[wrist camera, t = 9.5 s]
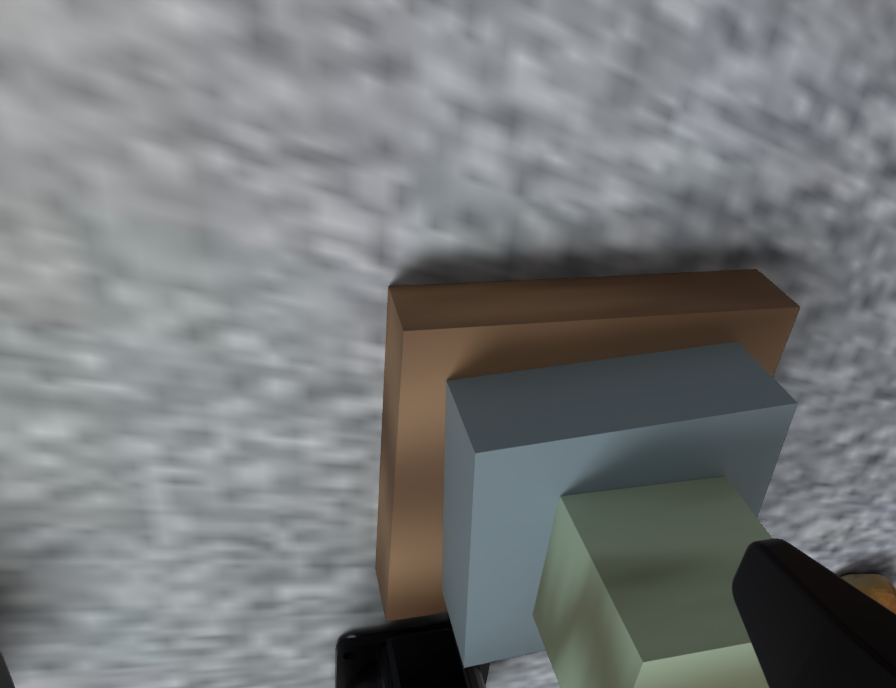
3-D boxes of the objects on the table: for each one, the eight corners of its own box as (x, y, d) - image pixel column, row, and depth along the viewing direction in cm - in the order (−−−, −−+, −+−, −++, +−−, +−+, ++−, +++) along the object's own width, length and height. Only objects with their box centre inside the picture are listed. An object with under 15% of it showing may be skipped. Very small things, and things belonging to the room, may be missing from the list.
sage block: (680, 591, 24) (770, 744, 20) (532, 615, 23) (597, 782, 19) (724, 475, 22) (839, 626, 18) (560, 496, 20) (643, 662, 16)
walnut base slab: (659, 517, 32) (695, 574, 30) (372, 554, 29) (386, 621, 27) (745, 259, 25) (800, 307, 23) (384, 275, 22) (403, 331, 20)
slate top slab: (680, 544, 28) (723, 612, 26) (441, 590, 26) (463, 667, 24) (737, 341, 23) (797, 403, 21) (446, 380, 21) (475, 453, 19)
